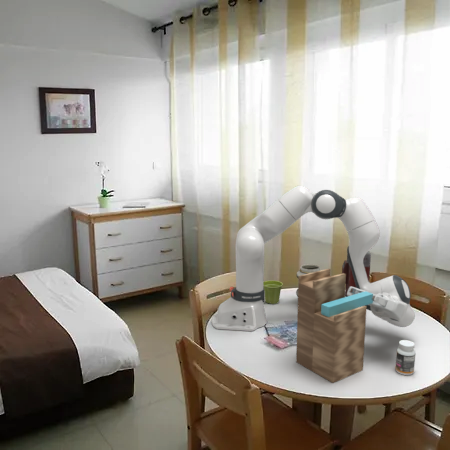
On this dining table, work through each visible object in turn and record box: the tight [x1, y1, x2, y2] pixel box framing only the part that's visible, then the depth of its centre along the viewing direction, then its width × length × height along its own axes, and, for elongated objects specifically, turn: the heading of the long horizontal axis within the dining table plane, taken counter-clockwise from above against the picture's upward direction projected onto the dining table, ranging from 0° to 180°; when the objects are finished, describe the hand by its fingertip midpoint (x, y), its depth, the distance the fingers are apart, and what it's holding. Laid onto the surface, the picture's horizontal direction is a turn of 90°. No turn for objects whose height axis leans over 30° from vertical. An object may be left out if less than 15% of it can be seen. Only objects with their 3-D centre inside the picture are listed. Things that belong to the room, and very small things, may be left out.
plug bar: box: [321, 291, 373, 317], centre depth 155 cm, size 21×3×3 cm, turn 125°
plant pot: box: [263, 280, 284, 305], centre depth 216 cm, size 9×9×9 cm
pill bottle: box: [395, 339, 416, 376], centre depth 154 cm, size 6×6×10 cm
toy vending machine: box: [341, 250, 372, 297], centre depth 217 cm, size 9×11×28 cm
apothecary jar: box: [295, 263, 322, 298], centre depth 210 cm, size 12×12×18 cm
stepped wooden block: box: [295, 268, 367, 384], centre depth 155 cm, size 14×16×30 cm
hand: (362, 293), depth 158 cm, fingers open, 8 cm apart
